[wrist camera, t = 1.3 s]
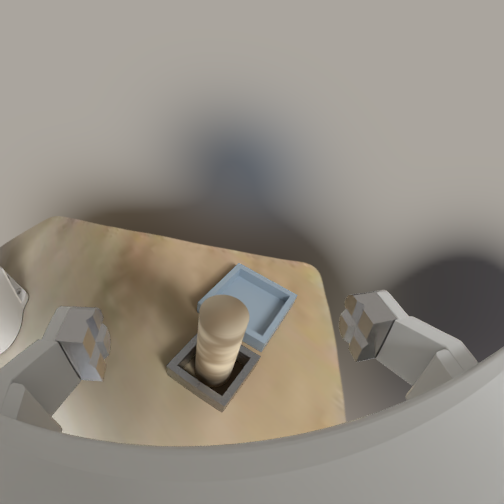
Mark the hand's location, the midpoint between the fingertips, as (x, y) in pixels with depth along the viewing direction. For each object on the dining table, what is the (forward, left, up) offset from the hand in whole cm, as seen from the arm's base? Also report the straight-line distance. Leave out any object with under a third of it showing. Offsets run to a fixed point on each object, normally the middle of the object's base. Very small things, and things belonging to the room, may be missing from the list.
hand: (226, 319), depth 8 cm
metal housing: (-5, +10, -29) cm, 31 cm away
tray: (-7, +23, -29) cm, 38 cm away
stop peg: (-5, +10, -29) cm, 31 cm away
